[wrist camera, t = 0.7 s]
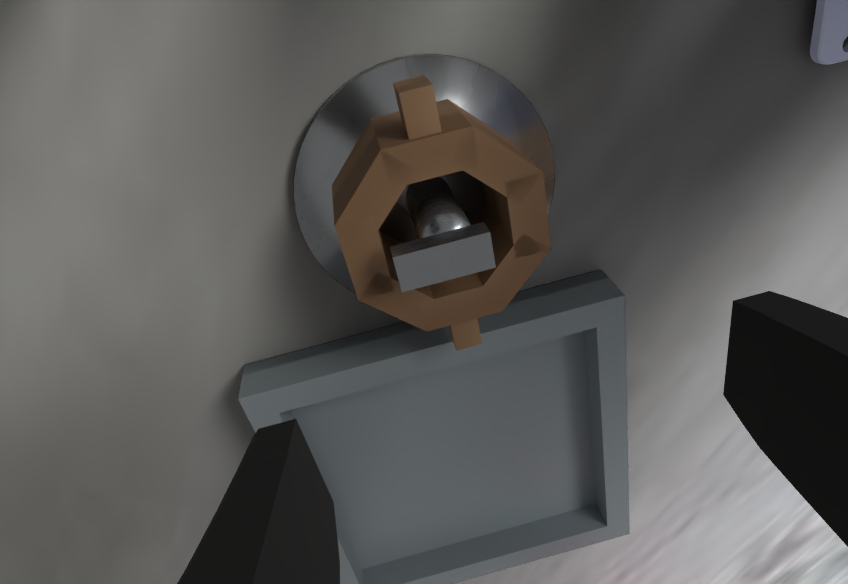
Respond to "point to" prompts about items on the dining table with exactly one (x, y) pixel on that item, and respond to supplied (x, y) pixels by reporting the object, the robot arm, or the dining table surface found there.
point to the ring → (425, 159)
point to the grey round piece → (426, 200)
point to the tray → (465, 435)
